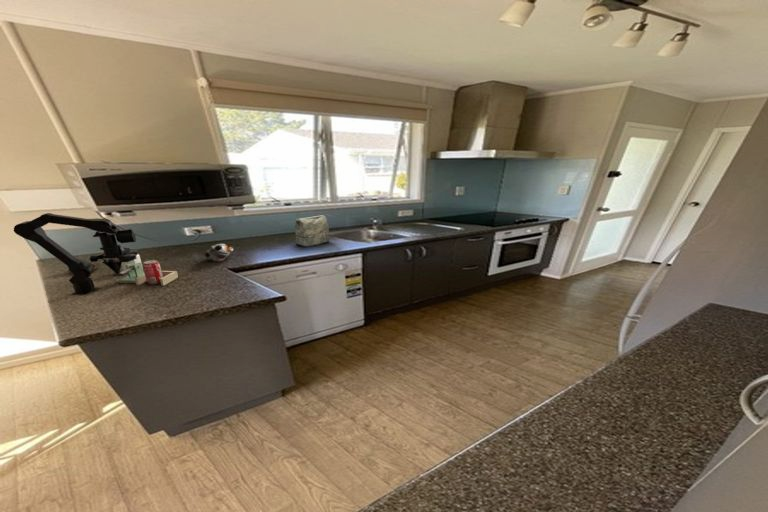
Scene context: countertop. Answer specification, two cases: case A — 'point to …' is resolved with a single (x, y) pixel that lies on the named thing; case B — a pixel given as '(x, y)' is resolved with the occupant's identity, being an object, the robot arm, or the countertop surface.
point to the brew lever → (124, 271)
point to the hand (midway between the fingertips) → (118, 273)
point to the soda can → (152, 271)
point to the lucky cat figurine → (218, 252)
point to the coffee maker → (132, 273)
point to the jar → (138, 260)
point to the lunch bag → (312, 230)
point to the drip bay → (166, 278)
